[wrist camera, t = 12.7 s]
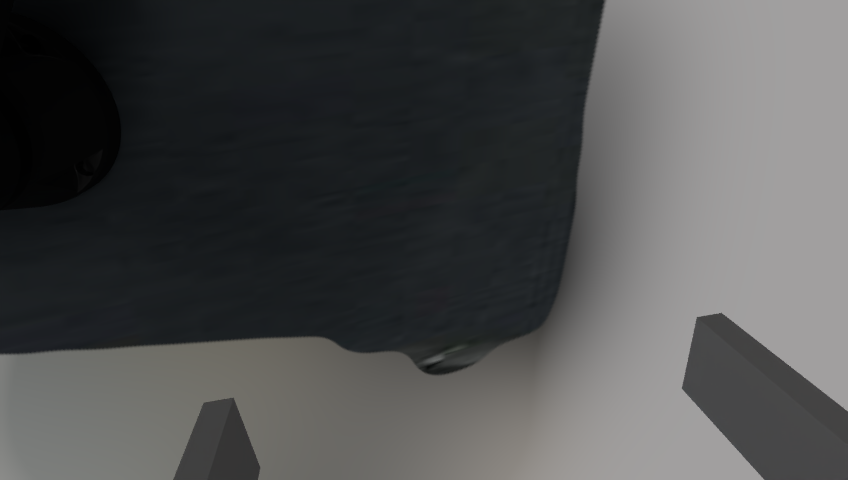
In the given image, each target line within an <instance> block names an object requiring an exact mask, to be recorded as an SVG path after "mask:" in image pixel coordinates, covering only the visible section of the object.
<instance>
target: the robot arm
mask: <svg viewBox="0 0 848 480" xmlns="http://www.w3.org/2000/svg"><path fill="white" fill-rule="evenodd" d="M13 1H14V0H0V210H10V209H21V208H33V207H43V206H49V205H54V204H57V203H61V202H64V201H67V200H69V199H72V198H74V197H76V196H77V195H79V194H81V193H82V192H84V191H86V190H87V189H89V188H91V187H92V186H94V185H95V184H96V183H98V182H99V181H100V180H101V179H102V178H103V177H104V176H105V175H106V174H107V172H108V171H109V170H110V168H111V166H112V165H113V163H114V161H115V159H116V156H117V153H118V149H119V143H120V123H119V117H118V113H117V109H116V106H115V103H114V100H113V98H112V95H111V93H110V91H109V89H108V87H107V86H106V84H105V82H104V80H103V79H102V77H101V76H100V74H99V73H98V72H97V70H96V69H95V68H94V66H93V65H92V64H91V63H90V62H89V61H88V59H87V58H86V57H85V56H84V55H83V54H82V53H81V52H80V51H78V50H77V49H76V48H75V47H74V46H73V45H72V44H70V43H69V42H68V41H67V40H65V39H64V38H63V37H61V36H60V35H58V34H57V33H55V32H54V31H52V30H50V29H49V28H47V27H45V26H43V25H41V24H39V23H37V22H35V21H33V20H31V19H29V18H26V17H23V16H21V15H18V14H14V13H11V9H12V5H13ZM682 389H683V390H684V391H685V392H686V394H687V395H688V396H689V397H690V398H691V399H692V400H693V401H694V402H695V403H696V405H697V406H698V407H699V408H700V409H701V410H702V411H703V412H704V413H705V414H706V416H707V417H708V418H709V419H710V420H711V421H712V422H713V423H714V424H715V425H716V427H717V428H718V429H719V430H720V431H721V432H722V433H723V434H724V435H725V437H726V438H727V439H728V440H729V441H730V442H731V443H732V444H733V445H734V446H735V448H736V449H737V450H738V451H739V452H740V453H741V454H742V455H743V456H744V458H745V459H746V460H747V461H748V462H749V463H750V464H751V465H752V466H753V468H754V469H755V470H756V471H757V472H758V473H759V474H760V475H761V476H762V477H763V479H764V480H848V411H846V410H845V409H844V408H843V407H841V406H840V405H839V404H837V403H836V402H835V401H834V400H832V399H831V398H830V397H828V396H827V395H826V394H825V393H823V392H822V391H821V390H819V389H818V388H817V387H816V386H814V385H813V384H812V383H810V382H809V381H808V380H806V379H805V378H804V377H803V376H802V375H800V374H799V373H798V372H796V371H795V370H794V369H792V368H791V367H790V366H789V365H787V364H786V363H785V362H784V361H782V360H781V359H780V358H778V357H777V356H776V355H775V354H773V353H772V352H770V351H769V350H768V349H767V348H766V347H764V346H763V345H762V344H761V343H759V342H758V341H757V340H755V339H754V338H753V337H751V336H750V335H749V334H747V333H746V332H745V331H744V330H743V329H741V328H740V327H739V326H737V325H736V324H735V323H734V322H732V321H731V320H730V319H728V318H727V317H726V316H725V315H723V314H722V313H719V314H713V315H708V316H702V317H697V319H696V324H695V329H694V334H693V339H692V343H691V348H690V353H689V358H688V362H687V367H686V372H685V377H684V382H683V386H682ZM259 470H260V466H259V463H258V461H257V458H256V455H255V453H254V450H253V447H252V445H251V442H250V440H249V437H248V434H247V432H246V429H245V426H244V424H243V421H242V419H241V416H240V413H239V411H238V408H237V406H236V403H235V401H234V398H229V399H223V400H218V401H212V402H206V403H204V404H203V406H202V409H201V411H200V414H199V416H198V419H197V422H196V424H195V426H194V429H193V432H192V434H191V436H190V439H189V442H188V444H187V447H186V449H185V452H184V454H183V457H182V459H181V462H180V464H179V467H178V470H177V472H176V474H175V477H174V479H173V480H258V476H259Z"/></svg>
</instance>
